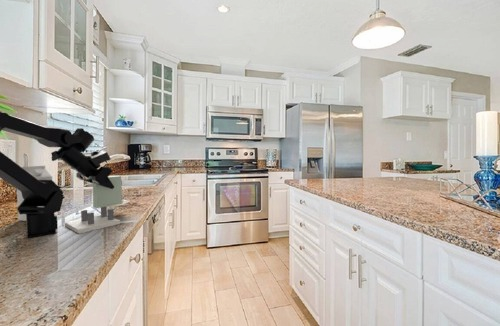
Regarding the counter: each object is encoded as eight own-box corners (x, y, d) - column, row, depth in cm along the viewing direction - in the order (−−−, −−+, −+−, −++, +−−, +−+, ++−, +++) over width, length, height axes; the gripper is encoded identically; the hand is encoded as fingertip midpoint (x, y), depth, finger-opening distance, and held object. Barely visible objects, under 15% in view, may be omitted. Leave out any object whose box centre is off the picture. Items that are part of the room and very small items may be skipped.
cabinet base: (78, 233, 73) (78, 218, 72) (65, 225, 80) (64, 211, 80) (120, 223, 82) (119, 210, 82) (104, 217, 90) (104, 204, 89)
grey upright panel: (96, 208, 89) (96, 178, 89) (93, 206, 91) (92, 177, 90) (122, 203, 97) (122, 176, 96) (119, 202, 99) (118, 175, 98)
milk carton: (18, 220, 86) (15, 166, 85) (40, 215, 93) (38, 165, 91) (32, 222, 84) (29, 167, 83) (54, 216, 90) (51, 165, 89)
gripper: (105, 143, 84) (137, 173, 93) (84, 144, 95) (115, 170, 104) (79, 168, 78) (116, 196, 87) (60, 165, 89) (95, 191, 99)
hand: (111, 187), depth 94 cm, fingers closed on grey upright panel, 3 cm apart
